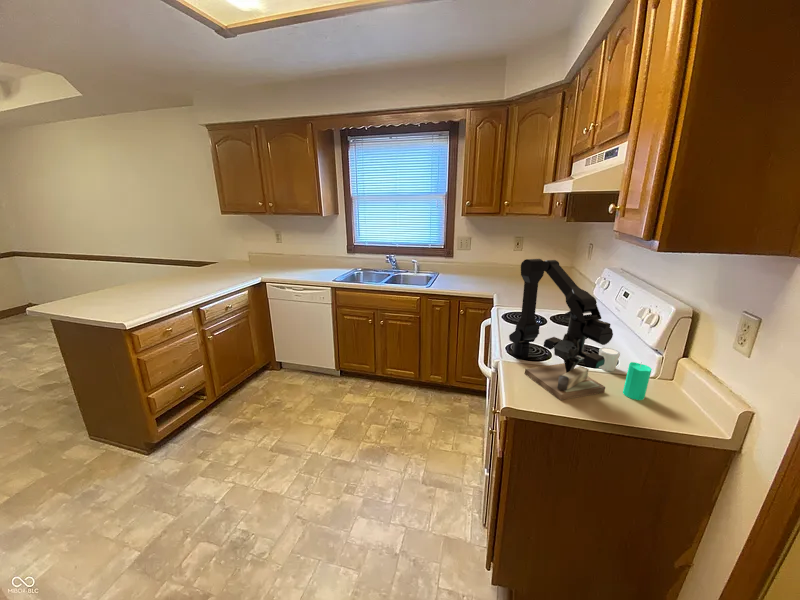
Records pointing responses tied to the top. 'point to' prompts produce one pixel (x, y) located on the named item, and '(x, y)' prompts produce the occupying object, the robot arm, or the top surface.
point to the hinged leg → (572, 378)
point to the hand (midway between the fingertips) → (568, 373)
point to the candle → (637, 381)
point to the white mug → (609, 358)
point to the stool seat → (550, 377)
